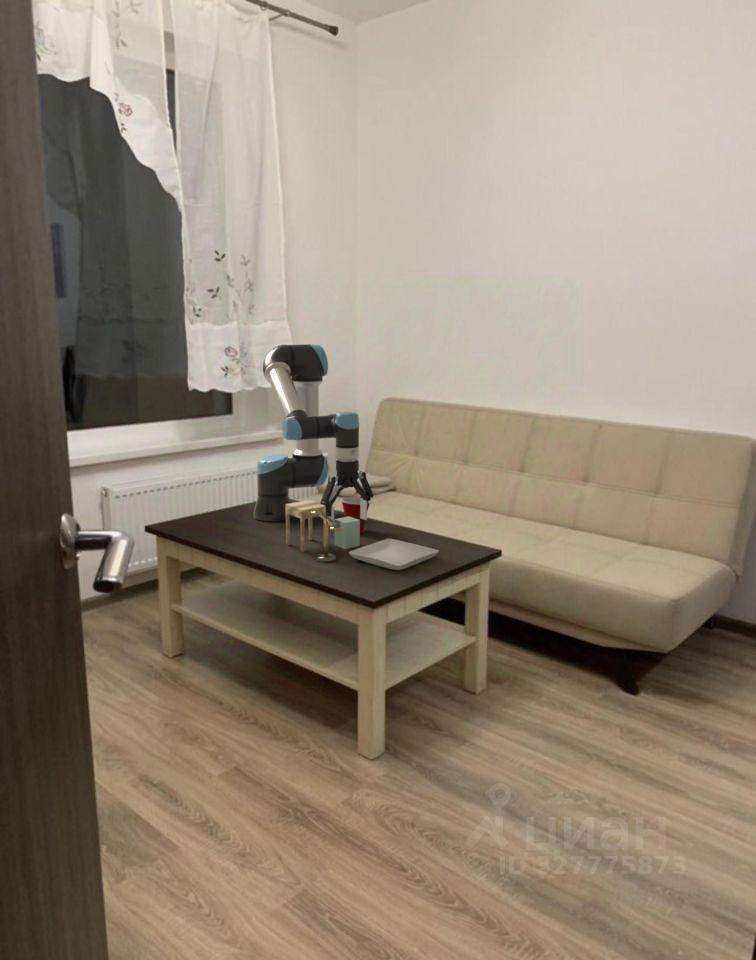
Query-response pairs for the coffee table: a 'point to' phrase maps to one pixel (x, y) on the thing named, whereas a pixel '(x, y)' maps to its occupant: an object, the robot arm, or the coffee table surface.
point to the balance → (336, 527)
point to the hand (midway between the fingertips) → (347, 522)
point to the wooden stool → (303, 519)
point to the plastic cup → (353, 510)
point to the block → (348, 533)
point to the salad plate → (393, 554)
